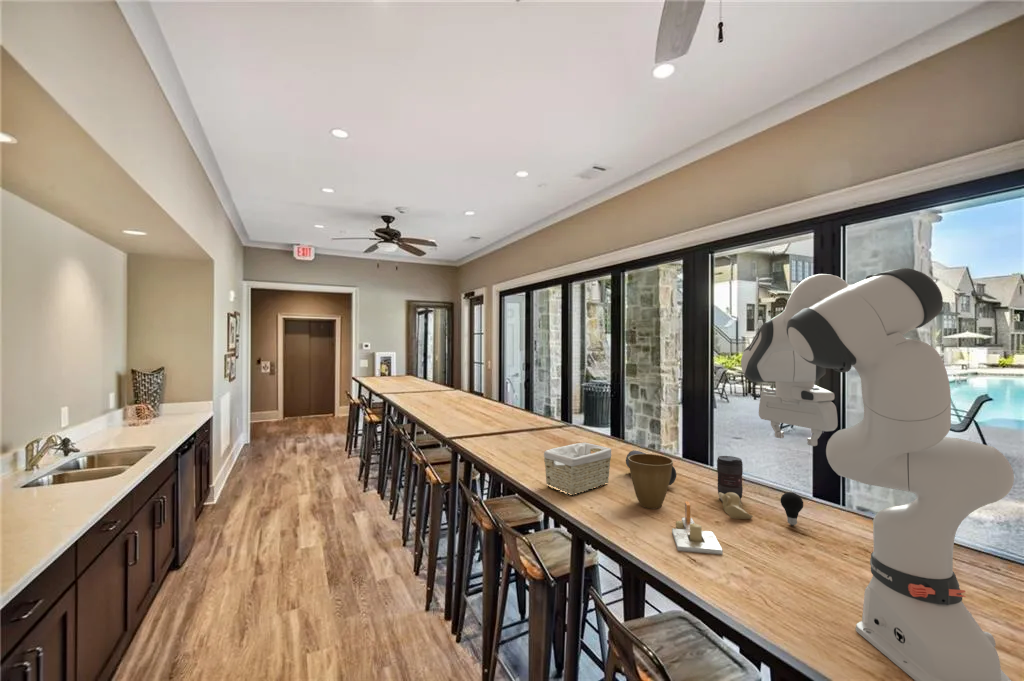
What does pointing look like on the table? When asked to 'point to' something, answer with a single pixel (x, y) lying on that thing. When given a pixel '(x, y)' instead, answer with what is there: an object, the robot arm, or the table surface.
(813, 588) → the table surface
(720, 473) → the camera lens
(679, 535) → the flange plate
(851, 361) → the robot arm
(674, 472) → the bluetooth speaker
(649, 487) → the plant pot
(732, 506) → the beige carved piece
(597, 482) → the storage basket
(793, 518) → the light bulb
